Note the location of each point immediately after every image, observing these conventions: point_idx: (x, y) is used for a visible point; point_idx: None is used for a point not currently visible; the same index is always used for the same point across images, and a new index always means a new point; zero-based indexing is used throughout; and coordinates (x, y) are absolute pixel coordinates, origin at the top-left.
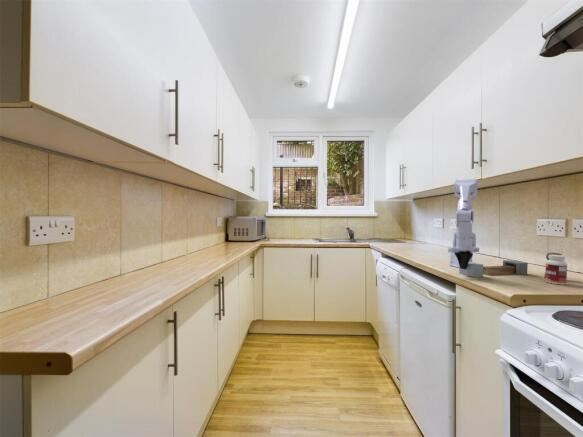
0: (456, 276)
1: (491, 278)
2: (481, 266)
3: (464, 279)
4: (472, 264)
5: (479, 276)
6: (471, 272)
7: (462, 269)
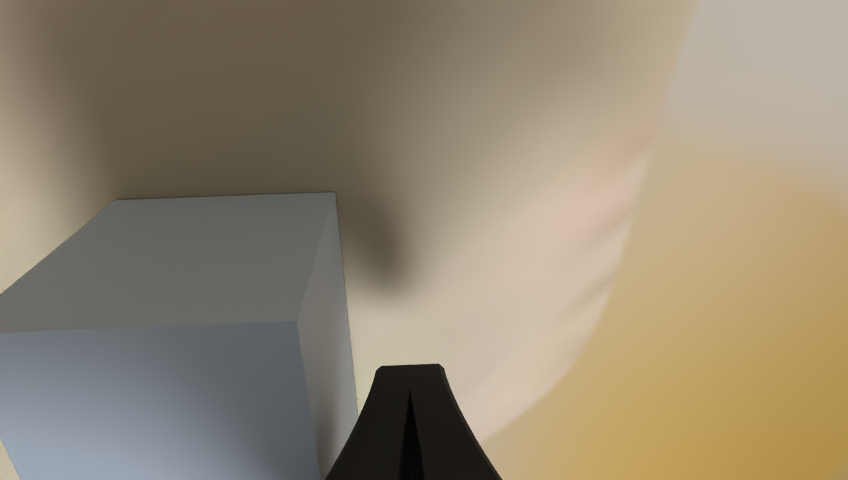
0: (592, 273)
1: (35, 44)
2: (44, 302)
3: (671, 52)
4: (277, 375)
5: (192, 199)
6: (329, 267)
7: None
